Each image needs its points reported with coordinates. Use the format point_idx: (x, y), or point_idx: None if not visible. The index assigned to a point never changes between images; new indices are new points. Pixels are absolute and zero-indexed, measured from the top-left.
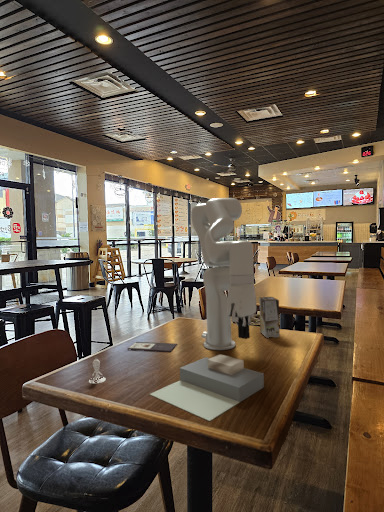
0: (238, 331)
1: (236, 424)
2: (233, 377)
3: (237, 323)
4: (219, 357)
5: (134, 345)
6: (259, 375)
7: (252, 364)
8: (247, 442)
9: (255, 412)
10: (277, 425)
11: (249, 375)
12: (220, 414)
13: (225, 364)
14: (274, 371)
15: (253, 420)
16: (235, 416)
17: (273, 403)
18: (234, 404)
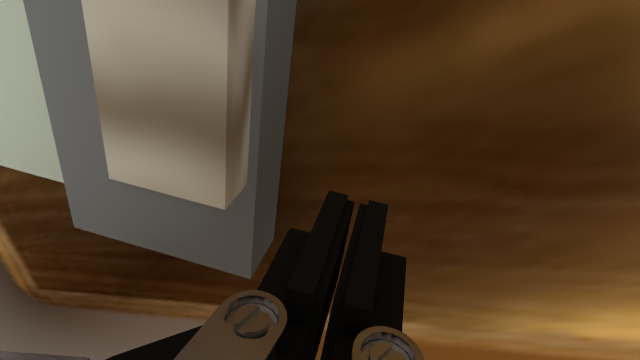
0: (313, 229)
1: (30, 225)
2: None
3: (176, 342)
4: (168, 36)
5: None
6: (220, 268)
7: (552, 105)
8: (6, 264)
9: (109, 252)
10: (102, 306)
11: (192, 232)
12: (24, 169)
13: (105, 137)
14: (473, 245)
15: (75, 256)
16: (52, 211)
17: (187, 285)
18: None
